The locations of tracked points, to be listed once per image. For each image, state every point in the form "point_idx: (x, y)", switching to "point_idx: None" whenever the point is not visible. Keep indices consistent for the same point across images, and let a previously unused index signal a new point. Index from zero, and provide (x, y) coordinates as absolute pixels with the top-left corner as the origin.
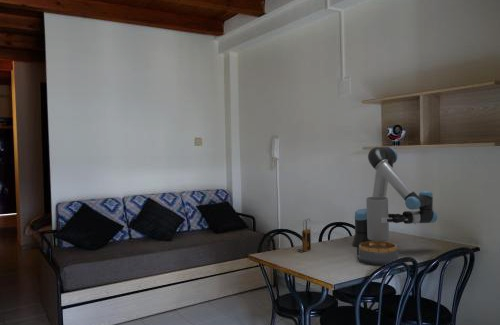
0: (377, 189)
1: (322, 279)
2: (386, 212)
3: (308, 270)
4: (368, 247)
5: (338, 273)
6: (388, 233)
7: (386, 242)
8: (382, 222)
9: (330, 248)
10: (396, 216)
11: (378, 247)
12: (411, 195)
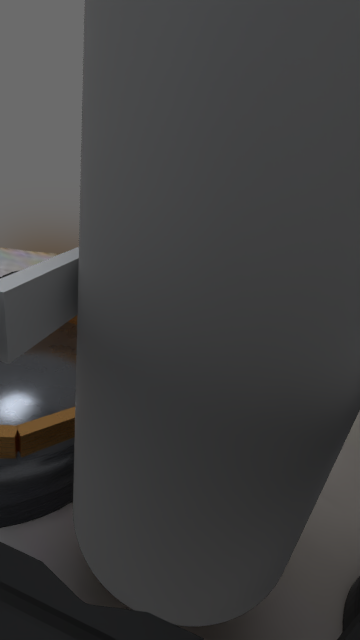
0: None
1: (35, 253)
2: (80, 187)
3: None
4: (76, 354)
5: None
6: (82, 506)
7: (7, 425)
8: None
9: (353, 428)
10: (74, 600)
11: (29, 380)
12: None
